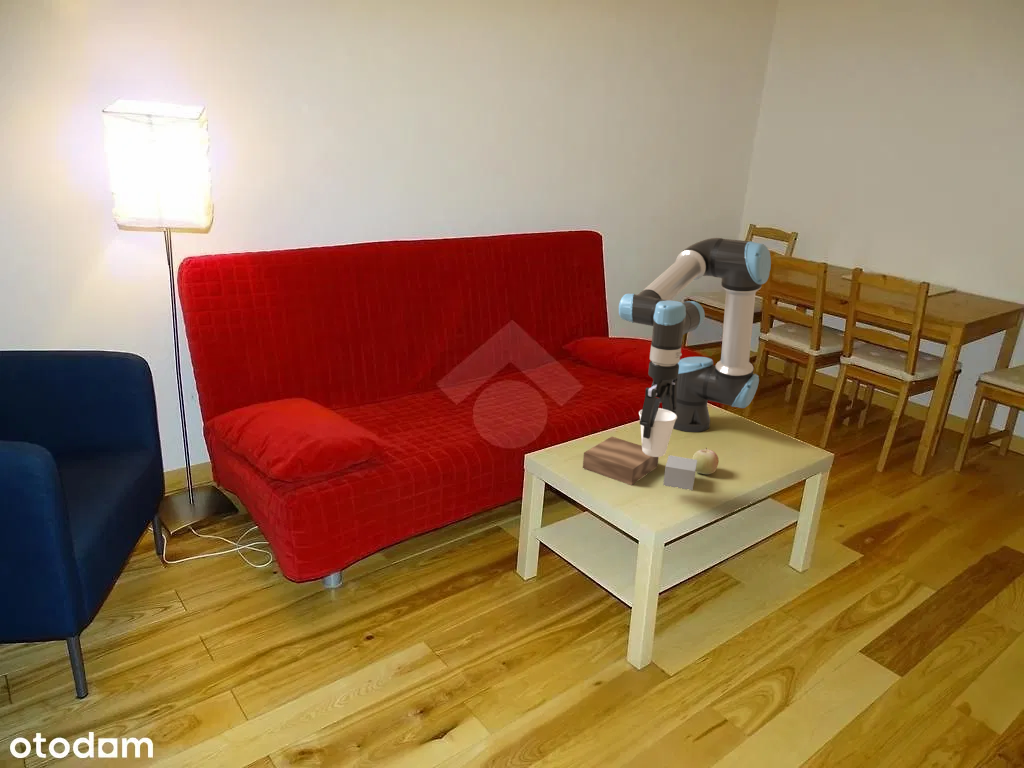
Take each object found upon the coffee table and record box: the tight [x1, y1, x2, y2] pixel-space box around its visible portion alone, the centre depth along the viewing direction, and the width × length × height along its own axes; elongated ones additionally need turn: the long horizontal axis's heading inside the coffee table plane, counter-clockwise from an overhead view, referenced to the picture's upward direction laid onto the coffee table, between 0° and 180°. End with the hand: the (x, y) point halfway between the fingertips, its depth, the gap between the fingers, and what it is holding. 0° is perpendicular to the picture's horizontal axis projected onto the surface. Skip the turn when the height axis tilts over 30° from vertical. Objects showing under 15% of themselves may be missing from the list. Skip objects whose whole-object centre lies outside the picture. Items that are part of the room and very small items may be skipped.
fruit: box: [691, 447, 719, 475], centre depth 207 cm, size 8×7×8 cm
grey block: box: [662, 454, 697, 491], centre depth 201 cm, size 8×8×6 cm
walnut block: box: [582, 436, 660, 486], centre depth 208 cm, size 16×16×5 cm
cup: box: [638, 407, 677, 458], centre depth 189 cm, size 10×10×11 cm
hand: (655, 442), depth 190 cm, fingers closed on cup, 9 cm apart
